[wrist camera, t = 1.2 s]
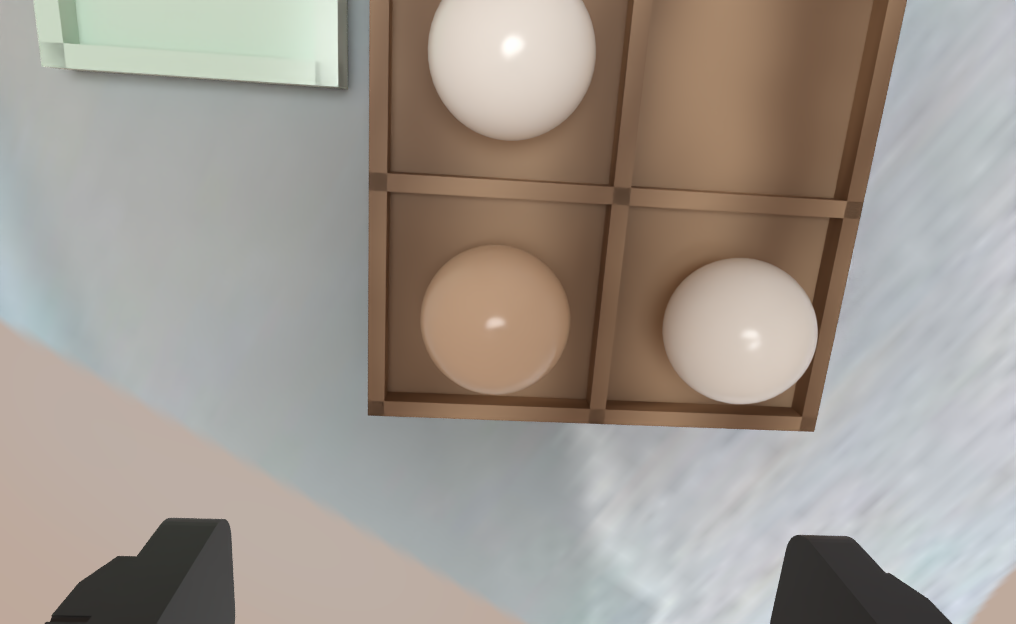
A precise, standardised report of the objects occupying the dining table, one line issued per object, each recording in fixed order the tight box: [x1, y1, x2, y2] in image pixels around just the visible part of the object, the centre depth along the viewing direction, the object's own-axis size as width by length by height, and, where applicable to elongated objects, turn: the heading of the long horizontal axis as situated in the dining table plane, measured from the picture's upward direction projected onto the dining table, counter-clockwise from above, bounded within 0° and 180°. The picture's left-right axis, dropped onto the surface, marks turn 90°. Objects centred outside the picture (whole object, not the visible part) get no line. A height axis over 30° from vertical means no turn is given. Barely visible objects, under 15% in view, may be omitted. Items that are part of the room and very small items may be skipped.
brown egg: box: [420, 245, 571, 395], centre depth 22 cm, size 5×5×5 cm
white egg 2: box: [662, 258, 818, 404], centre depth 22 cm, size 5×5×5 cm
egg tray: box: [368, 0, 907, 432], centre depth 24 cm, size 17×17×4 cm
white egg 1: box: [428, 0, 596, 141], centre depth 20 cm, size 5×5×5 cm
